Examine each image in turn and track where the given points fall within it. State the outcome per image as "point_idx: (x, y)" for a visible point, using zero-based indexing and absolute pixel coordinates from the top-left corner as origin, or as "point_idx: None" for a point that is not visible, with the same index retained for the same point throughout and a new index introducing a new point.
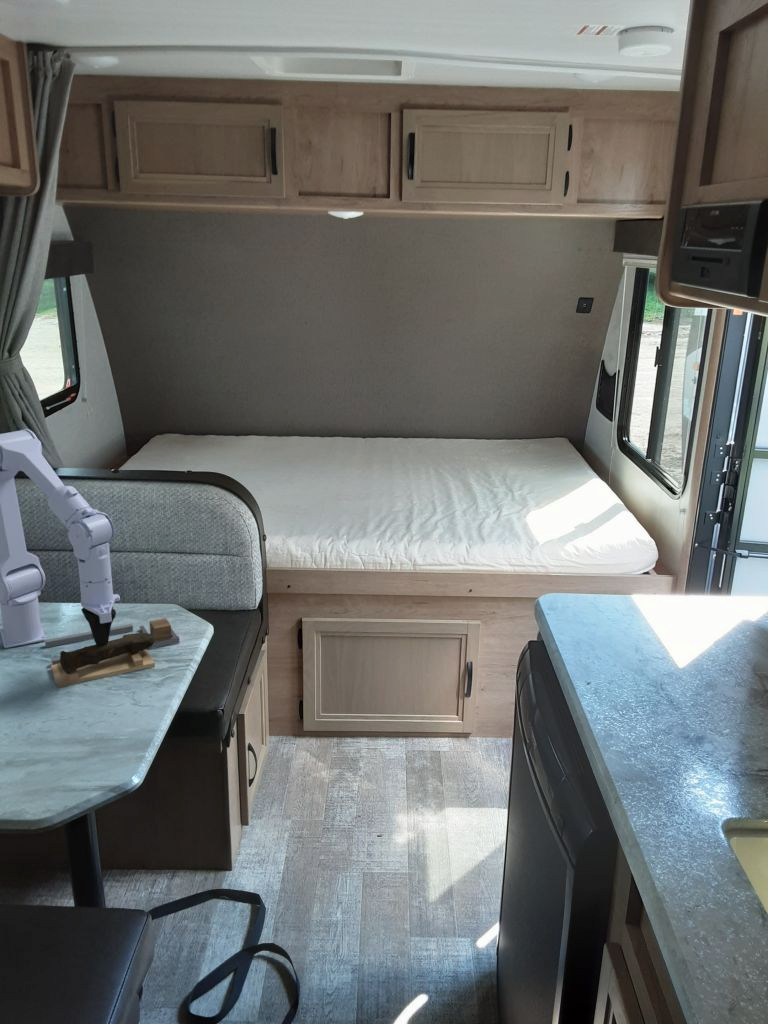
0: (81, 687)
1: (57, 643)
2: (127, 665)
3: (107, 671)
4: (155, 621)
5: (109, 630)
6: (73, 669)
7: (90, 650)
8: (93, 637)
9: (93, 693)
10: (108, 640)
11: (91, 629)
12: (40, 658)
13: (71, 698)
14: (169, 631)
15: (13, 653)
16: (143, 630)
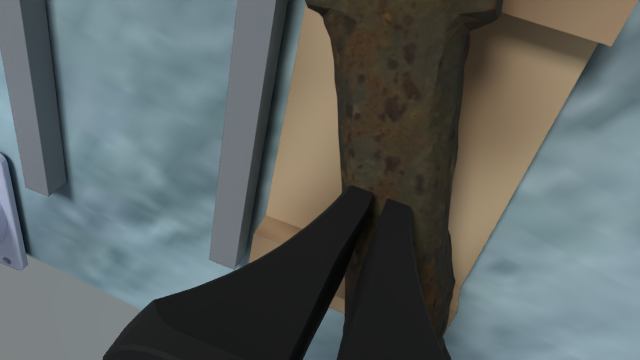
0: (511, 289)
1: (54, 148)
2: (538, 55)
3: (503, 173)
4: None
5: (421, 289)
6: (443, 341)
7: None
8: (335, 291)
9: (617, 295)
10: (407, 215)
11: (308, 346)
12: (149, 238)
13: (566, 355)
14: None
15: (72, 265)
16: None
